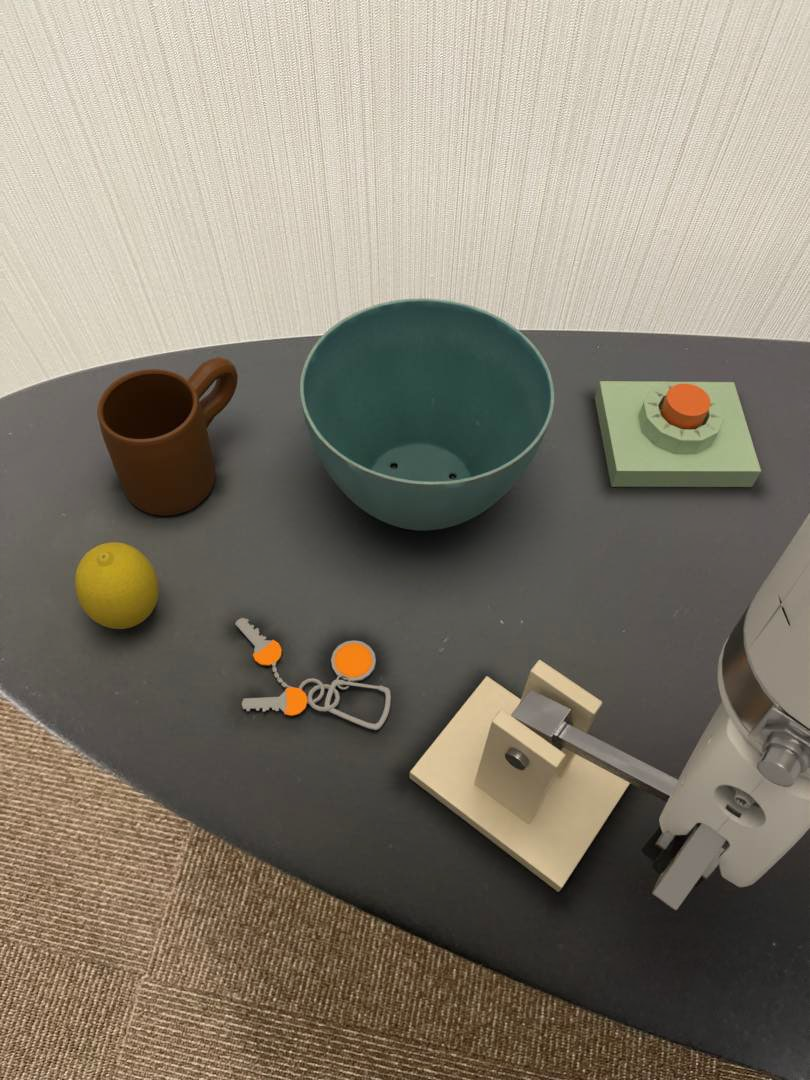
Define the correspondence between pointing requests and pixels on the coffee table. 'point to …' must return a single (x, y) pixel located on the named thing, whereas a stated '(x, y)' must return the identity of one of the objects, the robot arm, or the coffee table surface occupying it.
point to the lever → (589, 744)
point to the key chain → (347, 663)
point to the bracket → (522, 777)
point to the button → (685, 406)
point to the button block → (674, 438)
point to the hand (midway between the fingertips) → (695, 821)
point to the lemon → (116, 585)
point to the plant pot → (425, 409)
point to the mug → (165, 434)
